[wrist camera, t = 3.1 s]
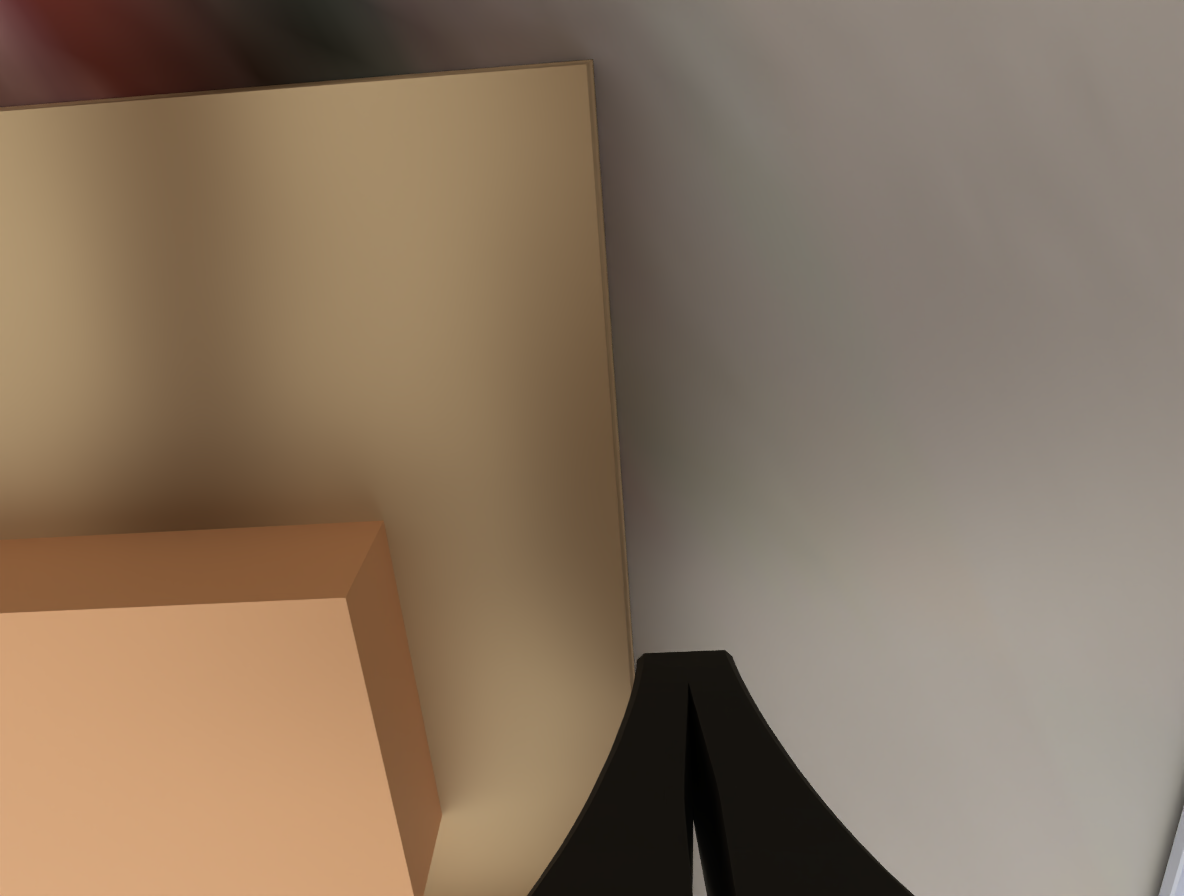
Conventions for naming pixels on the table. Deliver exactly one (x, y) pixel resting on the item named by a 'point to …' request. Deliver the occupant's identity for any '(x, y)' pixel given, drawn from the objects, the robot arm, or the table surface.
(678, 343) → the table surface
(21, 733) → the orange rectangular block
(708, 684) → the robot arm
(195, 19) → the table surface
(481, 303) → the deck
